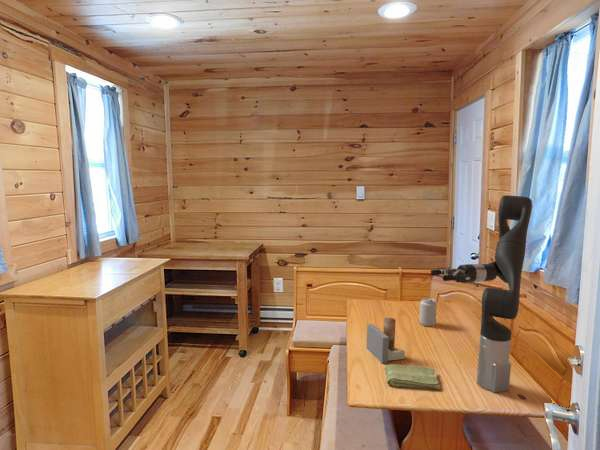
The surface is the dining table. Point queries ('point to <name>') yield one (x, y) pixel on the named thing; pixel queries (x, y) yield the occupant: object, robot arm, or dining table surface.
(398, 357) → the bracket
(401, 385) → the washcloth
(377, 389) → the dining table surface
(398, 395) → the dining table surface
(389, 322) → the dowel
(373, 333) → the wall
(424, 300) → the can
